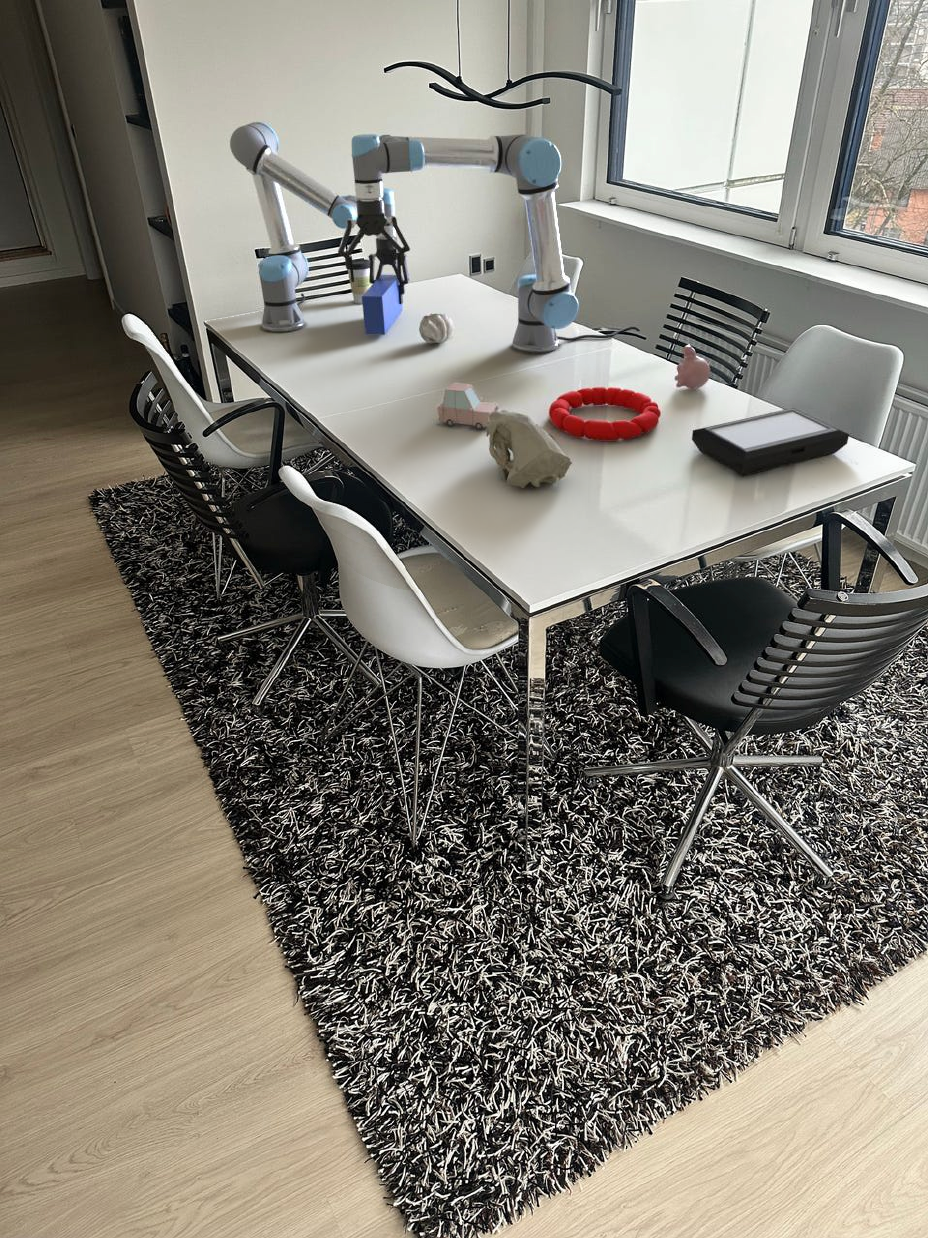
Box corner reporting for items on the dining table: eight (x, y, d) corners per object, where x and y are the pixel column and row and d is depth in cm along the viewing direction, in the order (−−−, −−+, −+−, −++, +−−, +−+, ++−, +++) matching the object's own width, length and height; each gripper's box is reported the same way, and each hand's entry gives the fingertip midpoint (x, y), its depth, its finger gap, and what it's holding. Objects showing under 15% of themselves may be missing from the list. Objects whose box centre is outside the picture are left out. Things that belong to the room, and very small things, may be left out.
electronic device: (744, 456, 208) (693, 426, 223) (740, 480, 212) (690, 450, 227) (850, 430, 218) (794, 404, 233) (844, 454, 222) (789, 427, 237)
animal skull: (496, 517, 219) (521, 479, 201) (463, 429, 225) (484, 384, 207) (557, 503, 225) (586, 465, 206) (523, 417, 231) (549, 373, 212)
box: (384, 310, 334) (381, 274, 327) (402, 310, 333) (400, 274, 326) (365, 334, 310) (361, 296, 303) (385, 334, 309) (382, 296, 302)
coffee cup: (373, 304, 347) (369, 264, 338) (348, 305, 347) (344, 264, 339) (375, 297, 355) (372, 258, 347) (351, 298, 355) (347, 258, 347)
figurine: (665, 387, 264) (669, 347, 257) (693, 380, 268) (698, 340, 261) (686, 396, 257) (690, 355, 250) (714, 388, 262) (720, 348, 255)
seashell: (411, 342, 306) (409, 313, 300) (450, 335, 312) (448, 306, 306) (425, 350, 298) (423, 320, 293) (464, 342, 304) (463, 313, 299)
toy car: (488, 432, 240) (488, 396, 234) (436, 426, 244) (434, 390, 239) (499, 419, 247) (499, 384, 241) (448, 413, 252) (447, 379, 246)
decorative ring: (589, 435, 224) (684, 402, 234) (527, 398, 247) (617, 369, 256) (589, 461, 229) (683, 427, 238) (529, 422, 251) (617, 393, 260)
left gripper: (356, 239, 314) (362, 305, 327) (411, 239, 312) (415, 306, 325) (361, 234, 321) (367, 299, 334) (415, 234, 318) (419, 300, 331)
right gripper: (324, 203, 239) (333, 285, 251) (416, 198, 242) (421, 279, 254) (323, 199, 245) (332, 279, 257) (413, 193, 248) (417, 272, 261)
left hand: (390, 302), depth 329 cm, fingers closed on box, 7 cm apart
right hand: (376, 279), depth 256 cm, fingers open, 13 cm apart
